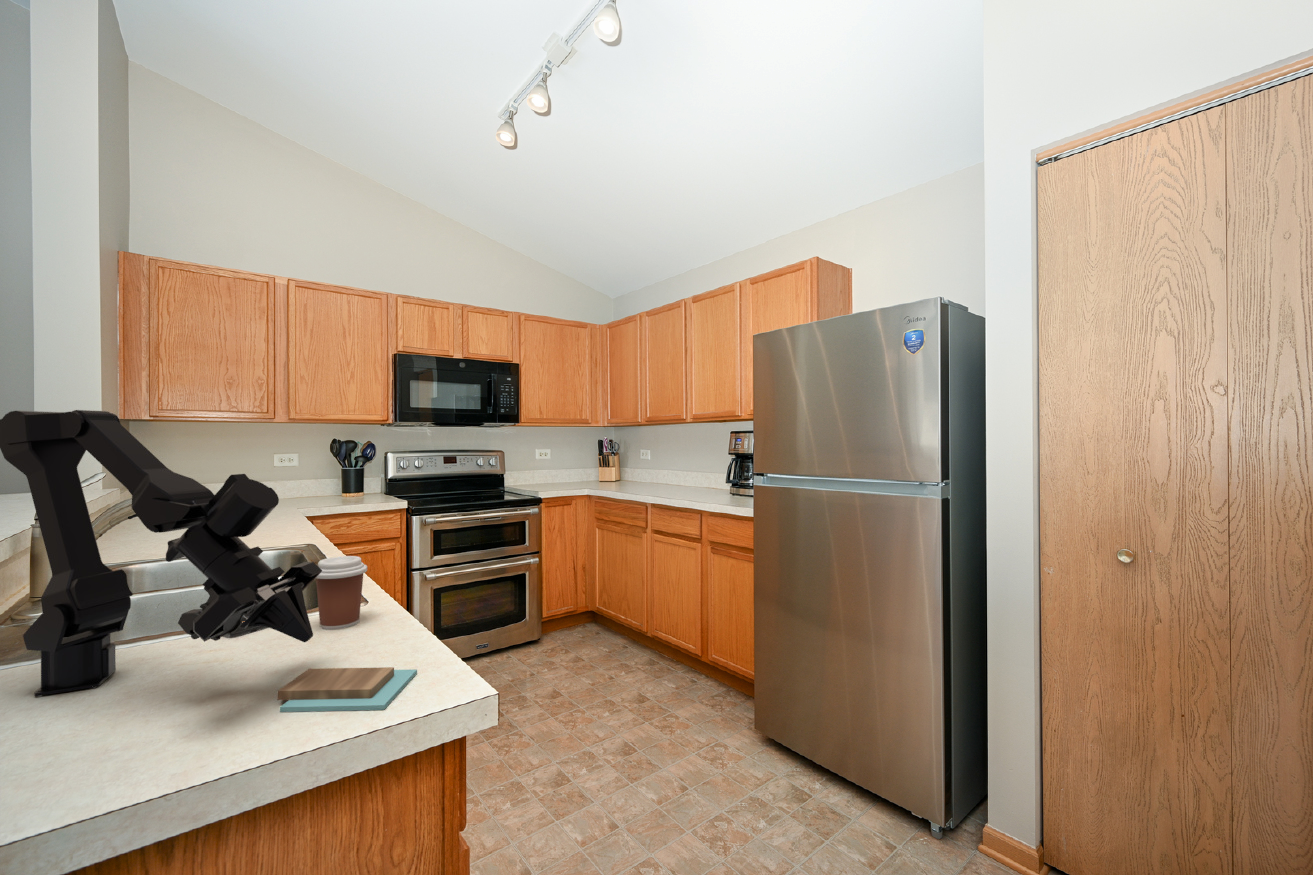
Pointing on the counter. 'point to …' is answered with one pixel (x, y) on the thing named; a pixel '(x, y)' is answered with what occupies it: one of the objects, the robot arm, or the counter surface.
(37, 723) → the counter surface
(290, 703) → the mat
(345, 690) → the walnut tile
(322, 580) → the coffee cup
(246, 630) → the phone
